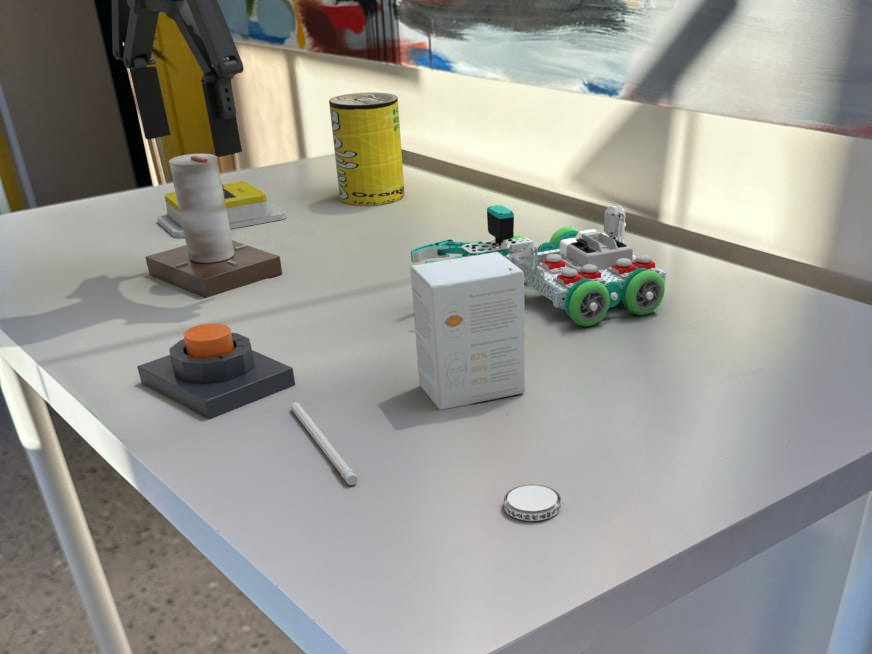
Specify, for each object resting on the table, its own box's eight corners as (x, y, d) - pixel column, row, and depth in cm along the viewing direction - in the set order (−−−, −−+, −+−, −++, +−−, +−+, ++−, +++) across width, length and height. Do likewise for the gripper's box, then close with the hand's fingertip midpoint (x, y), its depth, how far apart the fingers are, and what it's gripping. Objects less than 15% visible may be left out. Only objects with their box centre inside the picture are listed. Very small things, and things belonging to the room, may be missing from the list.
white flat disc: (550, 524, 66) (550, 517, 66) (495, 514, 68) (495, 507, 67) (567, 496, 69) (568, 488, 69) (515, 487, 71) (515, 479, 70)
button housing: (141, 383, 87) (131, 346, 85) (225, 353, 92) (218, 317, 90) (209, 420, 81) (200, 380, 79) (295, 385, 86) (289, 347, 84)
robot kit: (394, 294, 103) (386, 201, 98) (599, 257, 111) (603, 169, 105) (463, 355, 90) (458, 252, 84) (690, 309, 98) (701, 211, 92)
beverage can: (380, 184, 139) (372, 89, 132) (417, 196, 134) (411, 98, 126) (327, 196, 135) (315, 99, 127) (363, 209, 129) (353, 108, 122)
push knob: (178, 352, 84) (174, 332, 83) (217, 338, 87) (213, 319, 86) (204, 364, 82) (199, 344, 81) (243, 350, 84) (239, 330, 83)
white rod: (299, 400, 82) (359, 476, 71) (294, 409, 82) (354, 487, 72) (290, 396, 82) (349, 473, 71) (285, 405, 82) (344, 483, 71)
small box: (501, 370, 87) (499, 250, 81) (526, 394, 83) (526, 269, 76) (417, 386, 85) (408, 263, 78) (438, 412, 81) (430, 285, 74)
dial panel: (149, 274, 111) (144, 255, 109) (222, 253, 116) (219, 234, 115) (207, 298, 104) (203, 277, 103) (282, 274, 110) (279, 254, 108)
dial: (180, 256, 109) (159, 157, 102) (218, 246, 112) (199, 148, 105) (205, 266, 106) (184, 164, 100) (243, 254, 109) (225, 154, 102)
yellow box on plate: (148, 185, 125) (258, 168, 130) (156, 221, 128) (264, 202, 133) (168, 201, 118) (283, 182, 124) (176, 238, 121) (288, 218, 127)
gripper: (253, -115, 84) (292, 154, 97) (109, -110, 97) (160, 124, 111) (178, -110, 79) (229, 169, 93) (39, -107, 93) (101, 136, 107)
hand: (192, 145), depth 102 cm, fingers open, 13 cm apart
